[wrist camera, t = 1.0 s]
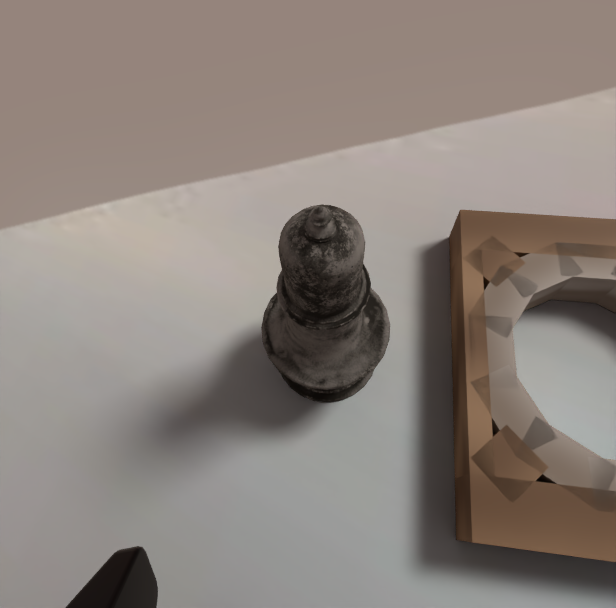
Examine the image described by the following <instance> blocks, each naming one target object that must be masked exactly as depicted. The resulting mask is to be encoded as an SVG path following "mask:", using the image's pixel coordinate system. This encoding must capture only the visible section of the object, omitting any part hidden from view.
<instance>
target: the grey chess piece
mask: <svg viewBox="0 0 616 608" xmlns="http://www.w3.org/2000/svg"><path fill="white" fill-rule="evenodd" d="M278 248H279V257H280V261H281V266H282V271H281V273H280V275H279V277H278V282H277V293H276V294H275V295H274V296H273V297H272V299H271V300H270V302H269V304H268V306H267V308H266V310H265V312H264V317H263V322H262V338H263V344H264V347H265V349H266V352H267V354H268V357H269V359H270V360H271V361H272V363H273V364H274V365H275V367H276V368H277V369H278V370H279V372H281V374H282V376H283V378H284V380H285V381H286V382H287V384H288V385H289V386H290V387H291V388H292V389H293V390H294V391H296V392H297V393H298V394H300V395H301V396H303V397H306V398H308V399H311V400H313V401H321V402H333V401H340V400H343V399H345V398H348V397H350V396H352V395H354V394H355V393H357V392H358V391H359V390H360V389H362V388H363V387H364V386H365V385H366V383H367V382H368V380H369V379H370V378H371V376H372V374H373V371H374V369H375V367H376V366H377V365H378V363H379V362H380V360H381V359H382V358H383V356H384V354H385V351H386V348H387V345H388V342H389V334H390V322H389V318H388V314H387V310H386V308H385V306H384V304H383V303H382V301H381V299H380V297H379V296H378V295H377V294H376V293H375V292H374V291H373V290H372V288H371V282H370V278H369V273H368V271H367V270H366V268H365V266H364V264H363V260H364V250H365V240H364V235H363V231H362V228H361V226H360V225H359V223H358V221H357V220H356V219H355V218H354V217H353V216H352V215H351V214H350V213H348V212H346V211H344V210H343V209H341V208H338V207H334V206H331V205H317V206H311V207H309V208H306V209H303V210H302V211H300V212H298V213H297V214H295V215H294V216H292V217H291V219H290V220H289V221H288V222H287V223H286V224H285V226H284V228H283V230H282V232H281V236H280V241H279V246H278Z"/></svg>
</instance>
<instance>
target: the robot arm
mask: <svg viewBox="0 0 616 608" xmlns="http://www.w3.org/2000/svg"><path fill="white" fill-rule="evenodd" d="M157 597H158V587H157V581H156V578H155V575H154V573H153V570H152V567H151V564H150V562H149V559H148V556H147V554H146V551H145V550H144V548H143V547H139V546H137V547H132V548H127V549H121V550H119V551H117V552H115V553H114V554H113V555H112V556H111V557H110V558H109V559H108V561H107V562H106V563H105V564H104V565H103V566H102V567H101V568H100V570H99V571H98V572H97V573H96V574H95V575H94V576H93V577H92V579H91V580H90V581H89V582H88V583H87V584H86V585H85V586H84V587H83V589H82V590H81V591H80V592H79V593H78V594H77V595H76V596H75V598H74V599H73V600H72V601H71V602H70V603H69V604H68V605H67V607H66V608H156V606H157Z"/></svg>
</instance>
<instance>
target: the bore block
mask: <svg viewBox="0 0 616 608" xmlns="http://www.w3.org/2000/svg"><path fill="white" fill-rule="evenodd" d="M449 243H450V288H451V332H452V377H453V422H454V467H455V512H456V540H460V541H467V542H473V543H480V544H488V545H495V546H502V547H509V548H517V549H524V550H531V551H539V552H546V553H553V554H560V555H568V556H575V557H582V558H590V559H597V560H604V561H611V562H616V460H611V459H603V458H602V457H600V456H598V455H597V454H595V453H594V452H592V451H590V450H589V449H587V448H586V447H584V446H582V445H581V444H579V443H578V442H576V441H574V440H573V439H571V438H570V437H568V436H566V435H565V434H563V433H562V432H560V431H558V430H557V429H555V428H554V427H552V426H550V425H549V424H548V422H547V421H546V419H545V418H544V416H543V415H542V413H541V412H540V410H539V409H538V407H537V406H536V404H535V403H534V401H533V400H532V399H531V397H530V396H529V394H528V393H527V391H526V390H525V388H524V387H523V385H522V384H521V382H520V381H519V379H518V378H517V374H516V363H515V352H514V340H513V327H514V326H515V324H516V322H517V321H518V319H519V317H520V316H521V314H522V312H523V311H526V310H528V309H530V308H533V307H535V306H537V305H539V304H542V303H544V302H546V301H549V300H551V299H552V300H564V301H577V302H589V303H597V304H599V305H601V306H602V307H604V308H606V309H608V310H610V311H612V312H614V313H616V219H600V218H584V217H568V216H552V215H536V214H520V213H504V212H488V211H472V210H460V211H459V214H458V216H457V219H456V221H455V224H454V226H453V229H452V231H451V234H450V236H449Z"/></svg>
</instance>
